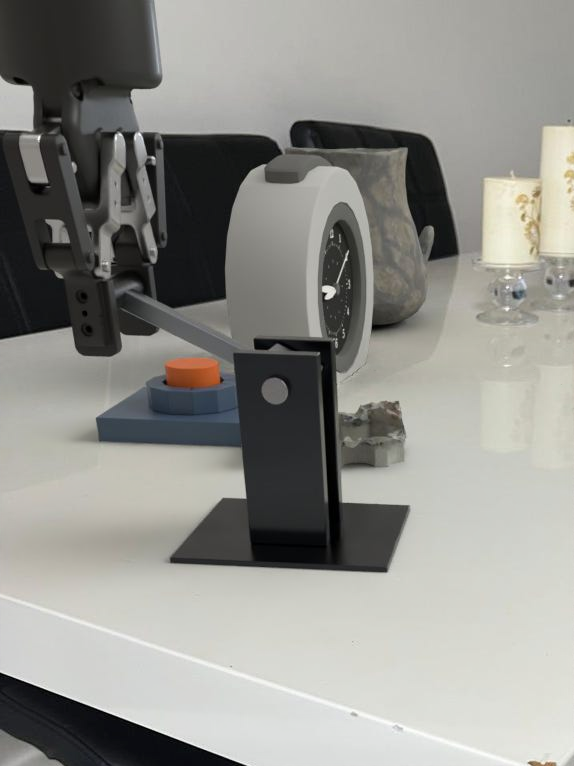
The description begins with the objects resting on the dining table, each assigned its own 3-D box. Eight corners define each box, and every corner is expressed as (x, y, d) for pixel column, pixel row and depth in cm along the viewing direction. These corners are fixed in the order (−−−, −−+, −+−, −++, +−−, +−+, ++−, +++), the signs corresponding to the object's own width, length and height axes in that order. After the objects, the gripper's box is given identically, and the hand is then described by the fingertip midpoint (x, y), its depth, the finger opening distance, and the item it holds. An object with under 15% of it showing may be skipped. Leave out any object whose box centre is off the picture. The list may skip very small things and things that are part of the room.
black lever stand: (171, 577, 55) (142, 360, 49) (224, 515, 64) (204, 324, 58) (387, 587, 54) (382, 368, 49) (410, 522, 63) (408, 331, 58)
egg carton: (406, 452, 77) (406, 399, 75) (406, 482, 70) (406, 425, 68) (267, 450, 76) (263, 397, 74) (253, 481, 70) (249, 423, 68)
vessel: (261, 339, 115) (245, 146, 106) (271, 308, 134) (259, 143, 125) (448, 338, 118) (448, 150, 108) (432, 308, 137) (431, 146, 128)
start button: (159, 390, 76) (156, 367, 75) (177, 379, 79) (174, 356, 78) (211, 392, 75) (209, 369, 75) (226, 380, 79) (224, 358, 78)
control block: (100, 452, 75) (91, 393, 73) (148, 418, 84) (141, 364, 82) (258, 459, 74) (252, 399, 72) (289, 423, 83) (285, 369, 81)
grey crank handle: (73, 314, 51) (85, 269, 50) (111, 299, 56) (123, 258, 54) (293, 421, 53) (309, 380, 52) (313, 398, 57) (328, 360, 56)
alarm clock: (312, 403, 89) (298, 158, 80) (233, 397, 91) (211, 156, 81) (376, 356, 108) (370, 153, 99) (310, 352, 109) (299, 151, 100)
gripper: (56, -12, 53) (105, 319, 61) (-101, -56, 40) (-13, 370, 48) (195, -10, 53) (226, 323, 60) (81, -53, 40) (140, 376, 48)
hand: (120, 342), depth 54 cm, fingers closed on grey crank handle, 5 cm apart
